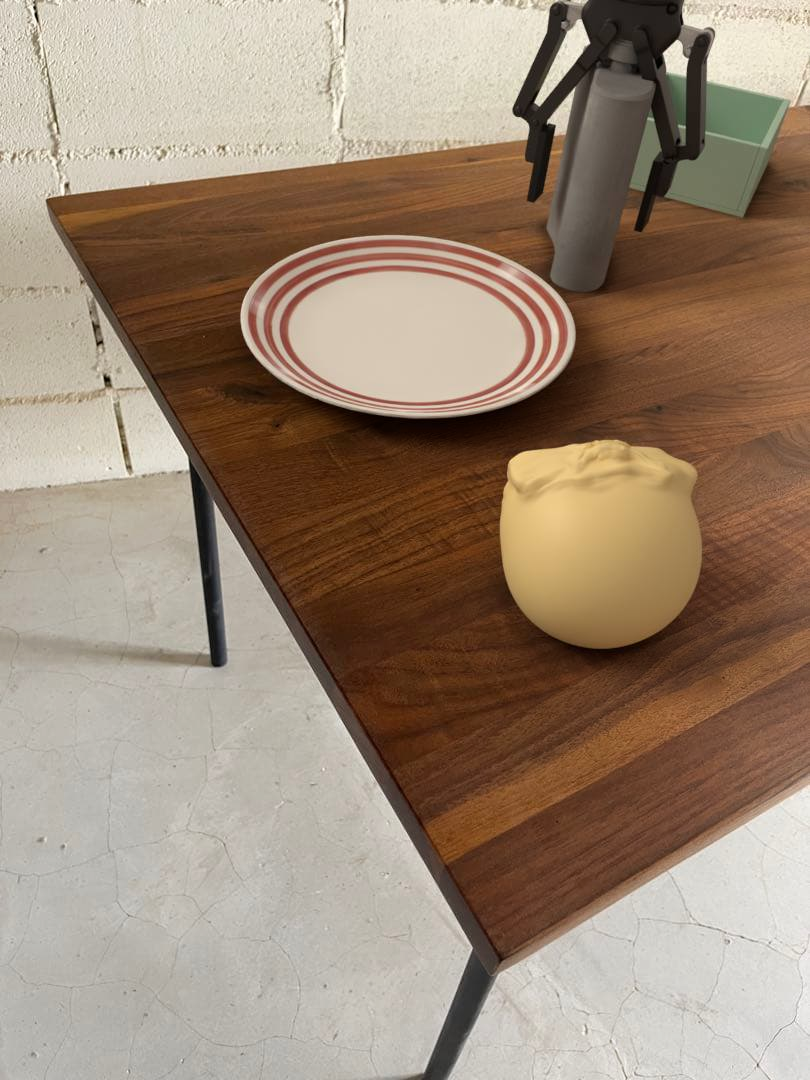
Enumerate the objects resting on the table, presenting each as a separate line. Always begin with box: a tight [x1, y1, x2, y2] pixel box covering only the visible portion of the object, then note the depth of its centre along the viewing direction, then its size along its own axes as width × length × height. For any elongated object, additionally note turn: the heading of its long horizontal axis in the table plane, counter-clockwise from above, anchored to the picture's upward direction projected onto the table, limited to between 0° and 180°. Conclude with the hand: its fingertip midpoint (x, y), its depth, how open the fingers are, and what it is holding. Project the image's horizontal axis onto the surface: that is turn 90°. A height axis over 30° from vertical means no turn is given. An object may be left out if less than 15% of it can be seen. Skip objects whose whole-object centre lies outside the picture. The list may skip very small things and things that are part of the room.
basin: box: [629, 71, 792, 218], centre depth 103 cm, size 16×18×8 cm
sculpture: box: [499, 439, 703, 650], centre depth 52 cm, size 12×12×11 cm
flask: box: [545, 39, 656, 293], centre depth 82 cm, size 15×6×20 cm, turn 176°
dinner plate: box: [240, 234, 577, 419], centre depth 74 cm, size 28×27×3 cm
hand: (587, 211), depth 85 cm, fingers open, 10 cm apart
